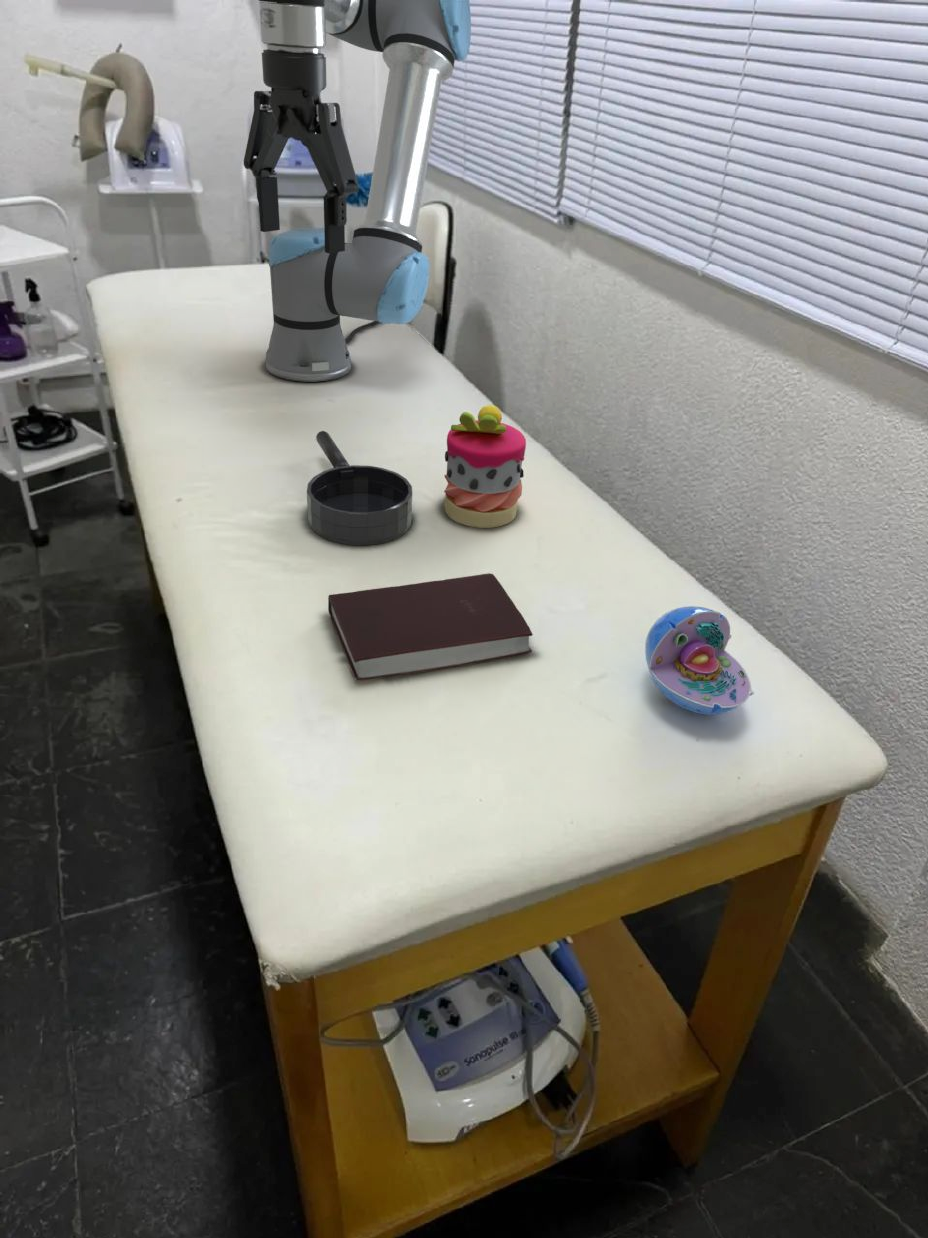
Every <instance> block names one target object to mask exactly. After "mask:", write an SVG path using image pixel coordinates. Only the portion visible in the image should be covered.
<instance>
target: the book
mask: <svg viewBox="0 0 928 1238" xmlns="http://www.w3.org/2000/svg"><path fill="white" fill-rule="evenodd" d="M327 601H328V604H327V610H328V614H329V616H330V620H331V623H332V626H333V628H334V631H335V632H336V636H337V638H338V640H339V642H340V645H341V647H342V650H343V653H344V655H345V657H346V660H347V663H348V665H349V667H350V671H351V672H352V675H353V678H355V680H356V682H357V681H369V680H376V679H377V680H378V679H384V678H389V677H397V676H403V675H410V674H419V673H423V672H429V671H438V670H445V669H451V668H457V667H462V666H469V665H473V664H479V663H485V662H490V661H496V660H500V659H501V660H502V659H506V658H513V657H517V656H522V655H526V654H530V653H533V650H532V649H531V647H530V637H532V636H533V635H534V634H533V631H532V630H531V629H530V626H529V625H528V623H527V621H526V619H525V618H524V616H523V614H522V613H521V612H520V610H519V609H518V607H517V606H516V604H515V603H514V602H513V600H512V599H511V597H510V596H509V594H508V592H507V591H506V589H505V588H504V586H503V585H502V584H501V582H500V581H499V580H498V578H497V577H496V576H495V574H493V573H481V574H474V575H468V576H462V577H454V578H446V579H440V580H439V579H438V580H430V581H424V582H417V583H409V584H403V585H395V586H386V587H379V588H370V589H363V590H355V591H349V592H342V593H332V594H328V596H327Z"/></svg>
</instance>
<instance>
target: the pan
mask: <svg viewBox="0 0 928 1238" xmlns="http://www.w3.org/2000/svg"><path fill="white" fill-rule="evenodd" d="M345 470H353V471H354V477H353V478H345V479H341V478H340V471H345ZM306 505H307V506H306V509H307V520H308V524H309V527H310V528H311V529H312V530H313V531H314V533H315V534H317V535H318V536H320V537H322V538H323V539H326V540H328V541H331V542H334V543H337V544H341V545H348V546H349V545H350V546H373V545H374V546H375V545H379V544H385V543H388V542H391V541H394V540H395V539H397V538H400V537H401V536H403V535H404V534H405V533H406V532H407V531H408V530H409V529H410V526H411V524H412V517H413V516H412V515H413V486H412V483H410V481H409V480H408V479H407V478H406V477H404V476H403V475H401V474H400V473H398V472H396V471H393V470H390V469H388V468H384V467H379V466H373V465H362V464H361V465H357V464H356V465H355V464H354V465H352V464H351V465H350V466H343V467H336V468H334V467H333V468H329V469H325V470H323V471H322V472H320V473H318V474H316V475H314V476H313V477H312V478H311V479H310V480H309V482H308V483H307V486H306Z"/></svg>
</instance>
